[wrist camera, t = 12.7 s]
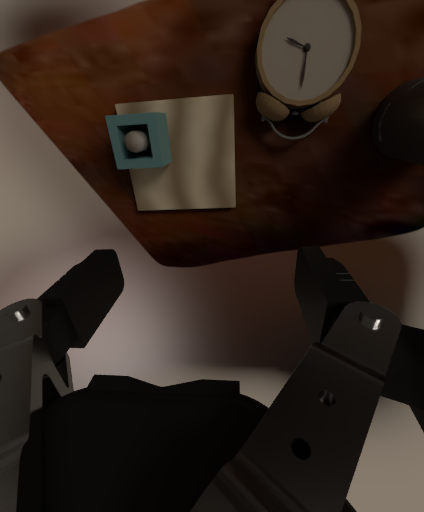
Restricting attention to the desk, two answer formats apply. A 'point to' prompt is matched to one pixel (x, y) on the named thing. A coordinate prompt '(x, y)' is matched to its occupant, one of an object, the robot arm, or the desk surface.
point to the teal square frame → (157, 135)
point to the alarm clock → (305, 57)
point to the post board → (186, 154)
